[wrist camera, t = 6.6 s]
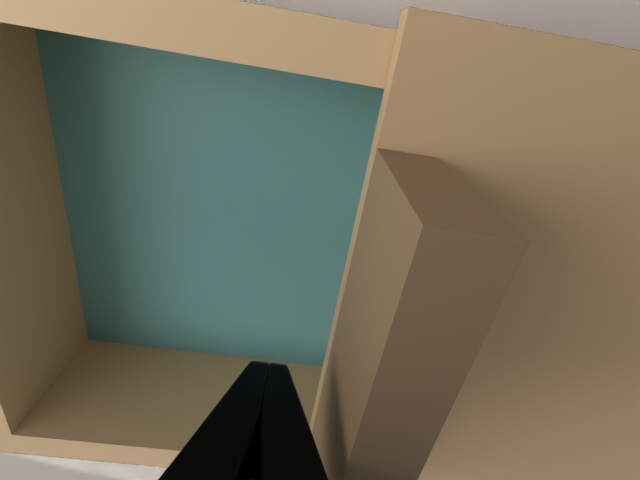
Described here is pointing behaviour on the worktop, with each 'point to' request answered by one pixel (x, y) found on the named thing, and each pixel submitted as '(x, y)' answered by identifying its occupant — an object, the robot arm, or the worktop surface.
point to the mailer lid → (491, 265)
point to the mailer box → (170, 210)
